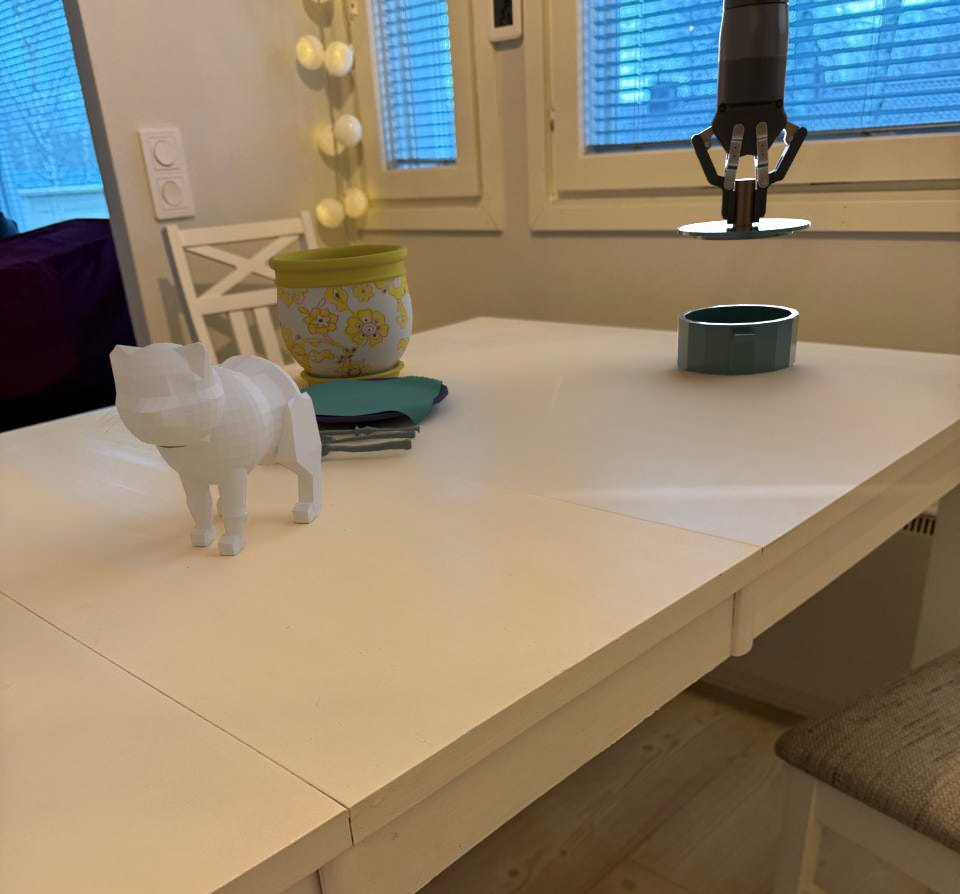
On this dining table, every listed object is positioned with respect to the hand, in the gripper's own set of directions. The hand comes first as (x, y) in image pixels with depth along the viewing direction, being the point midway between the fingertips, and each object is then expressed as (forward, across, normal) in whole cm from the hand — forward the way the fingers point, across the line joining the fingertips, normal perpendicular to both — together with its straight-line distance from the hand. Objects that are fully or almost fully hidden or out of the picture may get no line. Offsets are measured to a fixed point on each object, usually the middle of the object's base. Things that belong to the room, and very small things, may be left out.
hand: (742, 222), depth 114 cm
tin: (+17, 0, 0) cm, 17 cm away
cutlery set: (+17, -44, -23) cm, 53 cm away
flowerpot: (+17, -51, 0) cm, 54 cm away
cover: (+1, 0, 0) cm, 1 cm away
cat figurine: (+17, -45, -56) cm, 74 cm away
